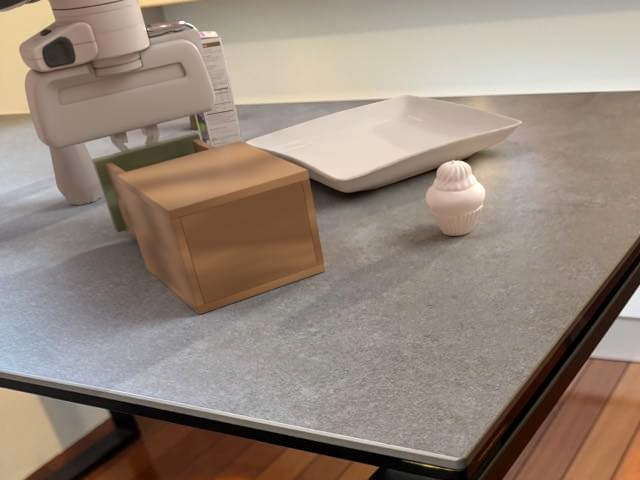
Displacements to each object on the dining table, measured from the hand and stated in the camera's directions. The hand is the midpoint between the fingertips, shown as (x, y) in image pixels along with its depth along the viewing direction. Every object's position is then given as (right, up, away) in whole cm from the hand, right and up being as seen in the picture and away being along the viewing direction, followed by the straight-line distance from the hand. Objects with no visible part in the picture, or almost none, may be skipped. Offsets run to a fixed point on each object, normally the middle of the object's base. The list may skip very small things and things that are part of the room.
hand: (145, 170), depth 95 cm
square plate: (+27, +7, +12) cm, 31 cm away
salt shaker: (-12, +2, +13) cm, 18 cm away
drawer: (+5, -7, -2) cm, 9 cm away
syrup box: (+4, +15, +26) cm, 30 cm away
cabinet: (+13, -16, -12) cm, 24 cm away
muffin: (+36, -11, -10) cm, 39 cm away
